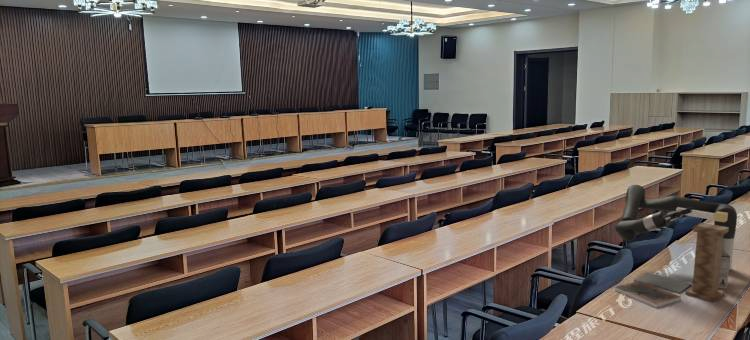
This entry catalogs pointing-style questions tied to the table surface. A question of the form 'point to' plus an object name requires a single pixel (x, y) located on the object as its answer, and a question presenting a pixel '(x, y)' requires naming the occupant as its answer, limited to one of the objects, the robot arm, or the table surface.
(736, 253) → the table surface
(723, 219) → the steel bar
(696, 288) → the walnut stand
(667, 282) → the rubber mat
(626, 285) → the picture frame
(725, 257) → the coffee box
